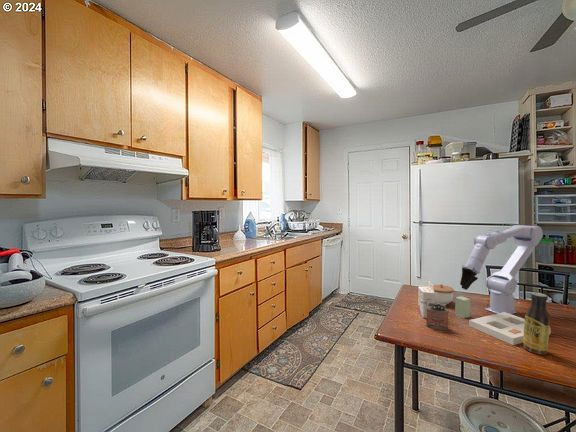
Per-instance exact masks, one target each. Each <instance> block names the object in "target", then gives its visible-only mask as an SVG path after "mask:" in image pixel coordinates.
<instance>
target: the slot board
mask: <svg viewBox="0 0 576 432" xmlns="http://www.w3.org/2000/svg"><path fill="white" fill-rule="evenodd" d="M524 323H525V318H523V317H520V316H517V315H514V314H509V313H506V312H503V313H498V314H497V313H495V314H490V315H489V314H488V315H485V316H481V317H477V318H472V319H469V320H468V326H469V327H471V328H472V329H475V330H478V331H479V332H482V333H484V334H486V335H489V336H491V337H493V338H495V339H498V340H501V341H502V342H505V343H507V344H510V345H512V346H516V345H520V344H523V336H524ZM551 330H552V329H551V327H550V330H549V336H550V335H551Z"/></svg>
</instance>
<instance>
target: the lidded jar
mask: <svg viewBox="0 0 576 432" xmlns="http://www.w3.org/2000/svg"><path fill="white" fill-rule="evenodd" d="M433 285H434V291H435V304H436V303H440V304H444V305H445V306H447V304H448V305H449V304H450V303H451V302H452V301H453V300H454V293H455V289H454V288H453V287H451V286H449V285H445V284H433ZM431 287H432V286H431Z"/></svg>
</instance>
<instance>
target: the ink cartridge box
mask: <svg viewBox="0 0 576 432" xmlns="http://www.w3.org/2000/svg"><path fill="white" fill-rule="evenodd" d="M434 285H435V284H433V283H432V282H431V281H430V280H428V286H418V287H417V288H418V289H417V292H418V293H417V294H418V297H417V298H418V301H417V304H418V305H417V311H418V312H419V314H420V315H421V316H422V318H423V319H427V310H426V308H427V307H432V306H428V303H435V291H434ZM431 286H432V287H431ZM435 304H436V303H435ZM434 308H435V307H434Z"/></svg>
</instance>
